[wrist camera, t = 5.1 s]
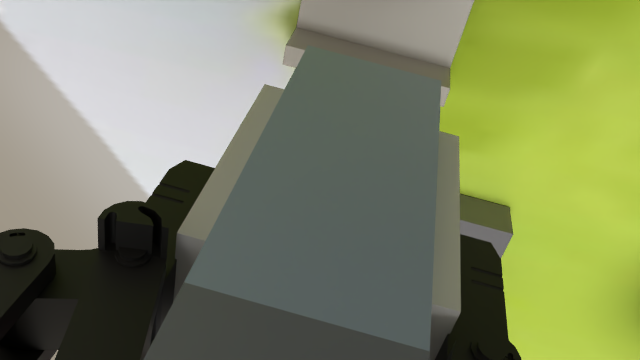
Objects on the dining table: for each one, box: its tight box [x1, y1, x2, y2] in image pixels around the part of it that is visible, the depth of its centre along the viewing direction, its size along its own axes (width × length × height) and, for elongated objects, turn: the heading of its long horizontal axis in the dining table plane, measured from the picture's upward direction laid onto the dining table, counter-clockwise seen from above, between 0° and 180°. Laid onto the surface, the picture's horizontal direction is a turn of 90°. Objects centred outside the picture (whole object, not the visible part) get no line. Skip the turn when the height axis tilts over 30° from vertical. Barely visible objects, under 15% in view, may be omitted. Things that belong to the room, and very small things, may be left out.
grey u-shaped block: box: [283, 0, 474, 107], centre depth 29 cm, size 8×8×3 cm
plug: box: [144, 45, 441, 360], centre depth 14 cm, size 4×4×12 cm
